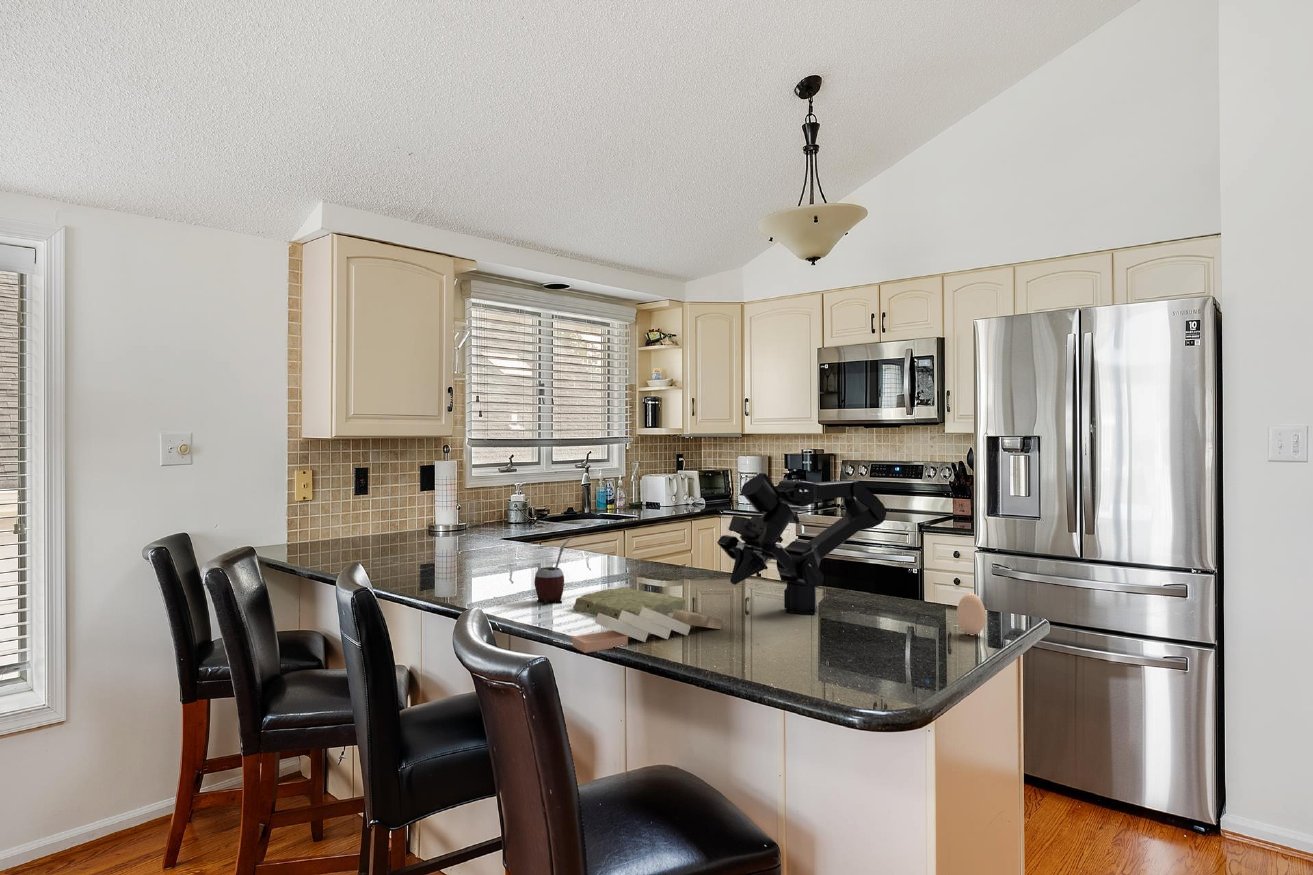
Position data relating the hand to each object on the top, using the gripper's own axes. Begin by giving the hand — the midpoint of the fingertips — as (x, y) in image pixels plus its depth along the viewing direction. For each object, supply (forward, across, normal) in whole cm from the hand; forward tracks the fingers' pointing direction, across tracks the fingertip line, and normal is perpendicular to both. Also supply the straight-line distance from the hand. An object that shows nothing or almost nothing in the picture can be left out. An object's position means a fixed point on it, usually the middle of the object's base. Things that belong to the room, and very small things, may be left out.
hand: (732, 583), depth 152 cm
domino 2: (+21, 0, -11) cm, 24 cm away
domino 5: (+9, 0, +2) cm, 9 cm away
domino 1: (+24, -1, -14) cm, 28 cm away
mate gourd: (+22, -39, -11) cm, 47 cm away
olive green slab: (+15, -23, -2) cm, 27 cm away
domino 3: (+18, 0, -8) cm, 19 cm away
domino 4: (+15, 0, -4) cm, 15 cm away
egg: (-17, +33, +30) cm, 48 cm away
